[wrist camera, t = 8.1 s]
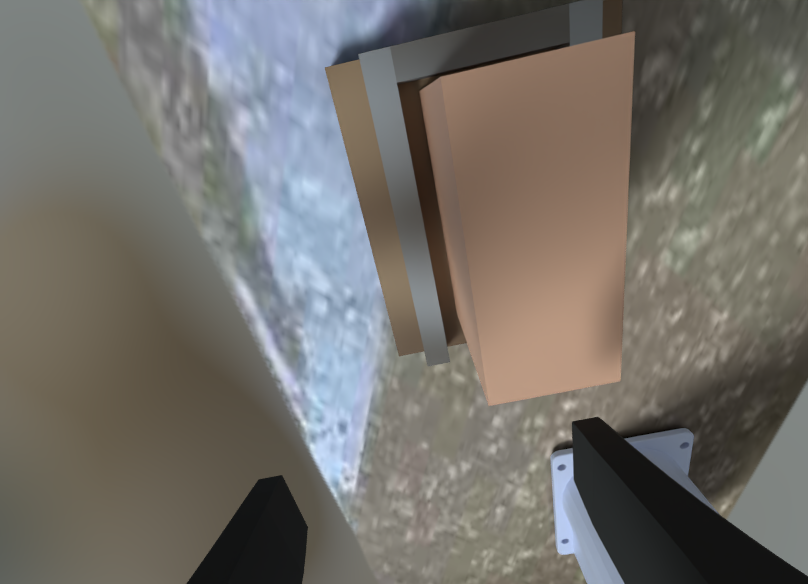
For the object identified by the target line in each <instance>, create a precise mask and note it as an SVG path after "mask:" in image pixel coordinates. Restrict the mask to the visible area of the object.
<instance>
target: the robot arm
mask: <svg viewBox="0 0 808 584" xmlns="http://www.w3.org/2000/svg"><path fill="white" fill-rule="evenodd" d="M572 439H573V448H569V449H564V450H558V451H555V452H554V453H553V454H552V455H551V473H552V490H553V506H554V522H555V538H556V548H557V550H558V553H560V554H563V555H566V554H572V553H575V556H576V558H577V561H578V563H579V565H580V568H581V570H582V572H583V575H584V577H585V579H586V582H587V584H808V576H807V575H805V574H804V573H802V572H801V571H799V570H798V569H796V568H794V567H793V566H791V565H790V564H788V563H787V562H785V561H784V560H783V559H781V558H780V557H778V556H776V555H775V554H774V553H772V552H771V551H769V550H768V549H767V548H765V547H764V546H762V545H761V544H759V543H758V542H757V541H755V540H754V539H752V538H751V537H749V536H748V535H747V534H745V533H744V532H743V531H741V530H740V529H738V528H737V527H736V526H734V525H733V524H731V523H730V522H728V521H727V520H726V519H725V518H723V517H722V516H720V515H719V513H718V512H717V511H716V510H715V509H714V507H713V506H712V505H711V504H710V503H709V501H708V500H707V499H706V498H705V497H704V495H703V494H702V493H701V492H700V490H699V489H698V488H697V487H696V486H695V484H694V483H693V482H692V481H691V480H690V478H689V477H688V472H689V465H690V459H691V453H692V446H693V440H694V435H693V433H692V432H691V431H690V430H689V429H687V428H680V429H674V430H669V431H663V432H658V433H652V434H647V435H641V436H636V437H630V438H625V439H624V438H623V437H621V436H620V435H619V434H618V433H617V432H616V431H615V430H613V429H612V428H611V427H610V426H609V425H608V424H606V423H605V422H604V421H603V420H602V419H600V418H599V417H594V418H589V419H584V420H578V421H573V422H572ZM307 530H308V526H307V525H306V523H305V521H304V518H303V516H302V514H301V512H300V510H299V509H298V506H297V504H296V502H295V500H294V498H293V496H292V495H291V492H290V490H289V488H288V486H287V484H286V483H285V480H284V478H283V476H282V475H280V476H275V477H270V478H265V479H259V480H258V481H257V483H256V484H255V486H254V487H253V488H252V490H251V491H250V493H249V494H248V496H247V497H246V498H245V500H244V501H243V503H242V504H241V506H240V507H239V509H238V510H237V512H236V513H235V515H234V516H233V518H232V519H231V521H230V522H229V524H228V525H227V526H226V528H225V529H224V531H223V532H222V534H221V535H220V537H219V538H218V540H217V541H216V542H215V544H214V545H213V547H212V548H211V550H210V551H209V553H208V554H207V555H206V557H205V558H204V560H203V561H202V562H201V564H200V566H199V567H198V568H197V570H196V571H195V573H194V574H193V575H192V577H191V578H190V579H189V581H188V582H187V584H302V579H303V574H304V564H305V555H306V543H307Z"/></svg>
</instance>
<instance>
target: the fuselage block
mask: <svg viewBox="0 0 808 584" xmlns="http://www.w3.org/2000/svg"><path fill="white" fill-rule="evenodd" d="M634 46H635V31H633V32H629V33H625V34H621V35H616V36H612V37H608V38H604V39H599V40H595V41H591V42H587V43H582V44H578V45H574V46H570V47H565V48H561V49H557V50H553V51H548V52H544V53H540V54H536V55H531V56H527V57H523V58H519V59H514V60H510V61H506V62H502V63H497V64H493V65H489V66H485V67H480V68H476V69H472V70H468V71H463V72H459V73H455V74H451V75H446V76H442V77H440V78H438V79H437V80H435V81H434V82H432V83H431V84H429V85H428V86H426V87H425V88H423V89H422V90H420V91H419V95H420V101H421V107H422V113H423V119H424V125H425V130H426V136H427V142H428V148H429V154H430V160H431V165H432V171H433V177H434V183H435V189H436V195H437V201H438V206H439V212H440V218H441V224H442V230H443V236H444V241H445V247H446V253H447V259H448V265H449V271H450V277H451V282H452V288H453V294H454V300H455V306H456V312H457V315H458V318H459V321H460V324H461V327H462V330H463V333H464V336H465V338H466V341H467V344H468V347H469V350H470V353H471V356H472V359H473V361H474V364H475V367H476V370H477V373H478V376H479V379H480V382H481V384H482V387H483V390H484V393H485V396H486V399H487V402H488V405H489V406H492V405H497V404H502V403H507V402H513V401H518V400H523V399H529V398H534V397H539V396H544V395H550V394H555V393H560V392H566V391H571V390H576V389H581V388H587V387H592V386H597V385H603V384H608V383H613V382H619V381H621V358H622V334H623V310H624V286H625V262H626V238H627V214H628V190H629V166H630V142H631V118H632V94H633V70H634Z"/></svg>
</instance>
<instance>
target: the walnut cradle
mask: <svg viewBox="0 0 808 584" xmlns="http://www.w3.org/2000/svg"><path fill="white" fill-rule="evenodd" d="M622 1H623V0H605V1H603V0H581V1H577V2H573V3H568V4H564V5H560V6H556V7H552V8H548V9H543V10H539V11H535V12H531V13H527V14H523V15H518V16H514V17H510V18H506V19H502V20H498V21H494V22H489V23H485V24H481V25H477V26H473V27H469V28H464V29H460V30H456V31H452V32H448V33H444V34H440V35H435V36H431V37H427V38H423V39H419V40H415V41H410V42H406V43H402V44H398V45H394V46H390V47H385V48H381V49H377V50H373V51H369V52H365V53H361V54H358V55H359V60H354V61H350V62H346V63H342V64H338V65H334V66H329V67H325V71H326V74H327V78H328V82H329V86H330V90H331V94H332V98H333V102H334V105H335V109H336V113H337V117H338V121H339V125H340V129H341V133H342V136H343V140H344V144H345V148H346V152H347V156H348V160H349V164H350V167H351V171H352V175H353V179H354V183H355V187H356V191H357V195H358V198H359V202H360V206H361V210H362V214H363V218H364V222H365V226H366V229H367V233H368V237H369V241H370V245H371V249H372V253H373V257H374V260H375V264H376V268H377V272H378V276H379V280H380V284H381V288H382V291H383V295H384V299H385V303H386V307H387V311H388V315H389V319H390V322H391V326H392V330H393V334H394V338H395V342H396V346H397V350H398V353H399V356H403V355H408V354H413V353H418V352H423V351H424V352H425V356H426V361H427V365H428V366H432V365H437V364H442V363H448V362H450V359H449V353H448V348H447V347H448V346H453V345H458V344H463V343H467V341H466V338H465V336H464V333H463V330H462V327H461V324H460V321H459V318H458V315H457V312H456V306H455V300H454V294H453V288H452V282H451V277H450V271H449V265H448V259H447V253H446V247H445V241H444V236H443V230H442V224H441V218H440V212H439V206H438V201H437V195H436V189H435V183H434V177H433V171H432V165H431V160H430V154H429V148H428V142H427V136H426V130H425V125H424V119H423V113H422V107H421V101H420V95H419V91H420V90H422V89H423V88H425V87H426V86H428V85H429V84H431V83H432V82H434V81H435V80H437V79H438V78H440V77H442V76H446V75H451V74H455V73H459V72H463V71H468V70H472V69H476V68H480V67H485V66H489V65H493V64H497V63H502V62H506V61H510V60H514V59H519V58H523V57H527V56H531V55H536V54H540V53H544V52H548V51H553V50H557V49H561V48H565V47H570V46H574V45H578V44H582V43H587V42H591V41H595V40H599V39H604V38H608V37H612V36H616V35H621V34H622Z"/></svg>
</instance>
